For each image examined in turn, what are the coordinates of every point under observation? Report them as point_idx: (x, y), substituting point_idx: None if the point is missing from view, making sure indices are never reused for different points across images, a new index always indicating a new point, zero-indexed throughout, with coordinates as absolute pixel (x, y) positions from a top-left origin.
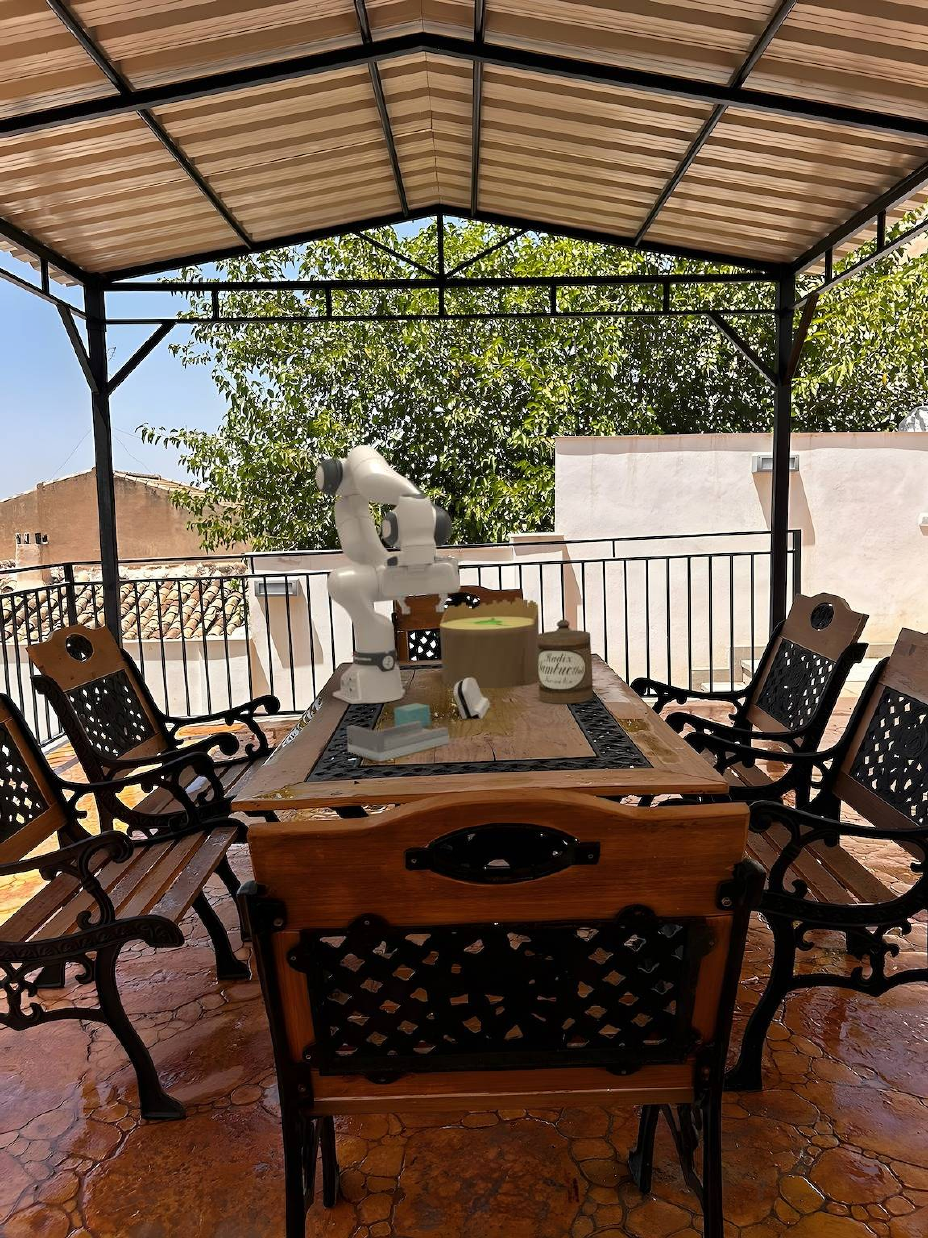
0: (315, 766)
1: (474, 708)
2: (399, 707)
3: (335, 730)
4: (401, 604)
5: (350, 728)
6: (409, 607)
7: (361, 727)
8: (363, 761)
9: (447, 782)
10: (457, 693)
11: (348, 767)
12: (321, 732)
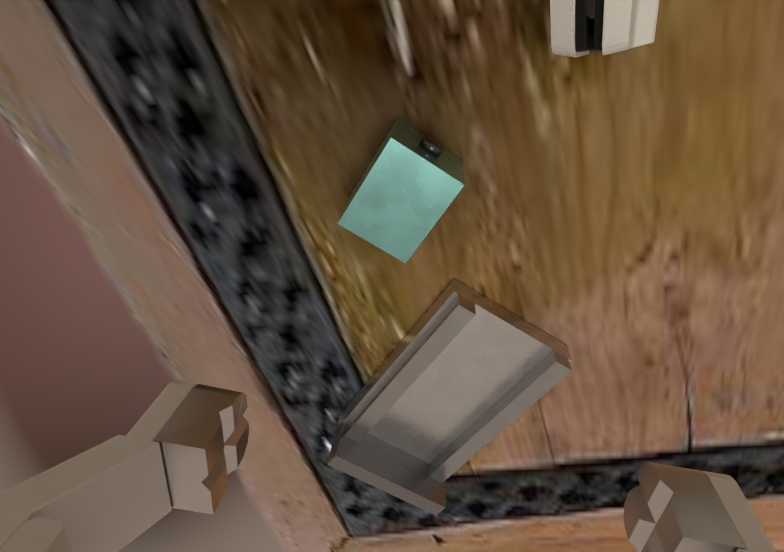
0: (323, 482)
1: (635, 24)
2: (354, 215)
3: (189, 248)
4: (123, 541)
5: (343, 469)
6: (211, 448)
7: (369, 472)
8: None
9: (597, 539)
10: (574, 55)
11: None
12: (165, 271)
